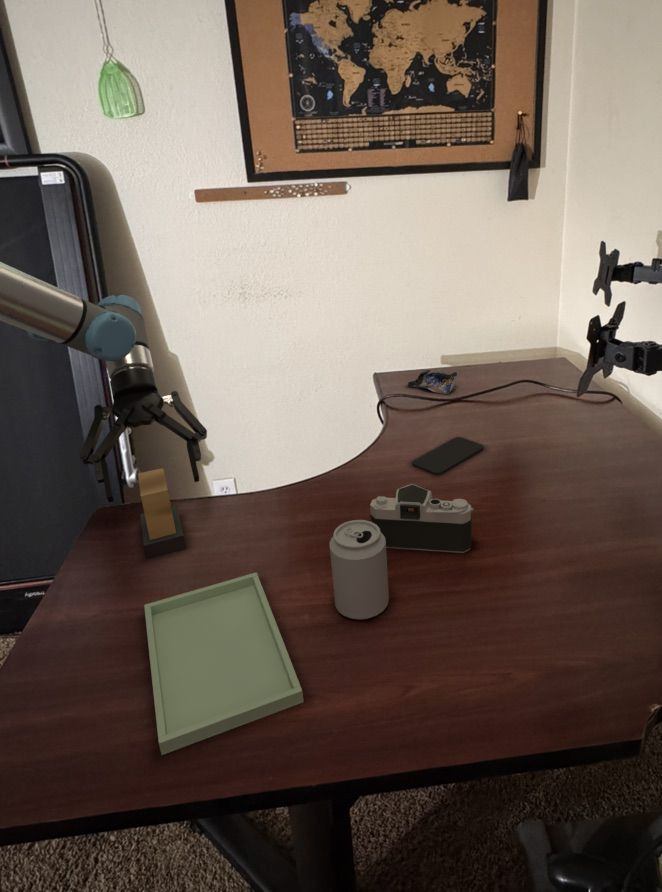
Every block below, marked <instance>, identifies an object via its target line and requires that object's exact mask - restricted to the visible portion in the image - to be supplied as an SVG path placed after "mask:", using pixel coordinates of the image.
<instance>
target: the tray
mask: <svg viewBox="0 0 662 892" xmlns="http://www.w3.org/2000/svg"><path fill="white" fill-rule="evenodd" d="M143 609H144V617H145V627H146V637H147V645H148V656H149V666H150V673H151V684H152V694H153V702H154V703H153V704H154V712H155V722H156V731H157V741H158V747H159V751H160V755H161V756H164V755H167V754H169V753H171V752H174V751H177V750H180V749H182V748H185V747H188V746H190V745H193V744H195V743H198V742H201V741H203V740H206V739H209V738H212V737H214V736H217V735H221V734H222V733H226V732H227V731H228V732H229V731H230V730H233V729H236V728H238V727H241V726H244V725H246V724H249V723H252V722H254V721H258V720H261V719H262V718H265V717H268V716H271V715H273V714H276V713H278V712H281V711H284V710H286V709H289V708H292V707H294V706H297V705H300V704H302V703H304V701H305V700H304V692H303V689H302V686H301V684H300V681H299V678H298V676H297V673H296V670H295V668H294V665H293V663H292V660H291V658H290V654H289V652H288V650H287V647H286V644H285V642H284V639H283V637H282V634H281V631H280V629H279V626H278V624H277V622H276V619H275V616H274V614H273V611H272V608H271V606H270V603H269V600H268V598H267V595H266V593H265V590H264V588H263V585H262V582H261V580H260V577H259V574H258V572H253V573H249V574H245V575H242V576H239V577H236V578H232V579H228V580H225V581H222V582H219V583H218V582H217V583H215V584H211V585H208V586H204V587H201V588H197V589H193V590H190V591H188V592H187V591H186V592H183V593H180V594H177V595H173V596H170V597H166V598H163V599H159V600H156V601H153V602H150V603H145V604H144V605H143Z"/></svg>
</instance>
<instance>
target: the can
mask: <svg viewBox="0 0 662 892" xmlns="http://www.w3.org/2000/svg"><path fill="white" fill-rule="evenodd" d="M332 535H333V536H332V537H331V539H330V541H329V555H330V565H331V576H332V588H333V596H334V597H333V598H334V599H333V600H334V607H335V609H336V610H337V612H338V613H339V614H341V615H342V616H343V617H346V618H349V619H351V620H368V619H370V618H374V617H376V616H378V615H379V614H381V613H383V612H384V611H385V609H386V608H387V607H388V605H389V601H390V593H389V575H388V557H387V556H388V555H387V548H386V541H385V537H384V535H383V534H382V533H381V532H380V528H379V527H378V526H377V525H376V524H374V523H372V522H371V520H370V521H369V520H366V519H354V520H349V521H345V522H343V523H341V524H339V525H338V526H337V527H336V528H335V529H334V531H333V534H332Z"/></svg>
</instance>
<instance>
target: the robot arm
mask: <svg viewBox="0 0 662 892" xmlns="http://www.w3.org/2000/svg"><path fill="white" fill-rule="evenodd" d="M0 322H3V323H5V324H8V325H11V326H13V327H16V328H19V329H22V330H24V331H26V333H27V335H28V336H29V337H30V338H31V339H33V340H35V341H41V342H46V343H57V344H61V345H62V346H65V347H68V348H70V349H73V350H75V351H78V352H81V353H83V354H86V355H89V356H91V357H92V358H94V359H96V360H97V359H98V360H100V361H105V364H106V369H107V375H108V378H109V384H110V385H109V386H110V390H111V396H112V404H111V406H110V405H109V406H102V405H101V404H96V405H95V406H94V407H93V411H94V417H93V421H92V423H91V425H90V427H89V431H88V433H87V435H86V438H85V440H84V443H83V446H82V449H81V450H80V454H79V458H80V461H81V463H82V464H83V465H93V470H94V477H95V480H96V482H97V483H98V484H102V483H103V484H104V489H105V495H106V499H107V501H108V503H113V502H115V499H114V494H113V488H112V482H111V476H110V470H109V464H108V462H107V459H106V458H107V457H108V456H109V454H110V452H111V451H112V449H113V448H114V446H115V445H116V443H117V442H118V440H119V439H120V437H121V436H122V434H124V433H125V432H126V430H127V429H128V428H129V427H130V428H133V429H134V428H135V429H136V428H139V427H141V426H149V425H152V424H153V423H154V422H156V423H157V424H159V425H161V426H163V427H165V428H166V429H168V430H169V431H171V432H172V433H174V434H175V435H177V436H178V437H180V438H181V439H182V440H184V441H186V451H187V455H188V459H189V463H190V468H191V472H192V476H193V481H194V483H197V482H200V475H199V474H200V473H199V470H198V466H197V465H198V464H197V462H200V461H201V460H202V452H201V448H200V444H199V443H200V442H201V441H204V440H206V439H207V438H208V430H207V429H206V427H205V426H204V425H203V424H202V423H201V422H200V421H199V419H198V418H197V417H196V416H195V415H194V414H193V413H192V411H191V410H190V409H189V408H188V407H187V406H186V405H185V404H184V402H182V401H181V398H180V395H179V393H178V391H177V390H172V391H171V392H170V394H167V395H164V396H162V395H161V394H160V392H159V388H158V383H157V377H156V374H155V369H154V364H153V359H152V354H151V351H150V346H149V341H148V335H147V331H146V326H145V325H146V323H145V318H144V316H143V313H142V310H141V307H140V303H139V302H138V301H137V300H136V299H135V298H133V297H132V296H129V295H126V294H119V295H109V296H106V297H104V298H102V299H101V300H100V301H98V303H97V304H94V303H92V302H90V301H88V300H85V299H83V298H81V297H79V296H77V295H75V294H72V293H70V292H68V291H66V290H63V289H61V288H59V287H57V286H55V285H53V284H51V283H48V282H46V281H44V280H42V279H40V278H38V277H35V276H32V275H30V274H28V273H26V272H24V271H21V270H19V269H17V268H16V267H12V266H10V265H8V264H6V263H5V262H2V261H0ZM165 404H166V405H168V406H169V407H170V408H174V410H175V411H176V413H177V414H178V416H180V418H182V419H183V421H184V422H186V424H187V425H188V427H190V428H191V429H192V430H193V431H192V430H190V429H189V428H187V427H186V426H185V425H183V424H181V423H180V422H179V421H177V420H175V419H174V418H173V417H171V416H170V415H168V414H167V413H166V412H165V411H164V410H163V408H164V405H165ZM112 414H113V416H114V417H116V419H115V421H114V424H113V425H112V427H111V428H110V430H109V431H108V433H107V434H106V436H105V437H104V439H103V440H102V442H101V443H100V444H99V446H98V447H96V446H97V444H98V441H99V439H100V436H101V434H102V430H103V428H104V425H105V421H106V420H107V421H108V419H109V417H110V416H111V415H112ZM96 448H97V449H96ZM95 449H96V450H95Z"/></svg>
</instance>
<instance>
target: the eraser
mask: <svg viewBox="0 0 662 892" xmlns="http://www.w3.org/2000/svg"><path fill="white" fill-rule="evenodd" d="M137 478H138V486H139V493H140V498H141V499H140V500H141V504H142V509H143V513H140V514H139V520H140V527H141V534H142V542H143V549H144V553H145V558H146V560H150V559H154V558H158V557H161V556H165V555H169V554H172V553H176V552H180V551H183V550H186V549H187V546H186V541H185V537H184V536H185V535H184V532H183V528H182V523H181V519H180V514H179V510H178V506H177V505H172V504H171V499H170V495H169V494H170V493H169V489H168V484H167V480H166V475H165V471H164V468H163V467H161V468H157V469H152V470H147V471H143V472H139V473H137Z"/></svg>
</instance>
